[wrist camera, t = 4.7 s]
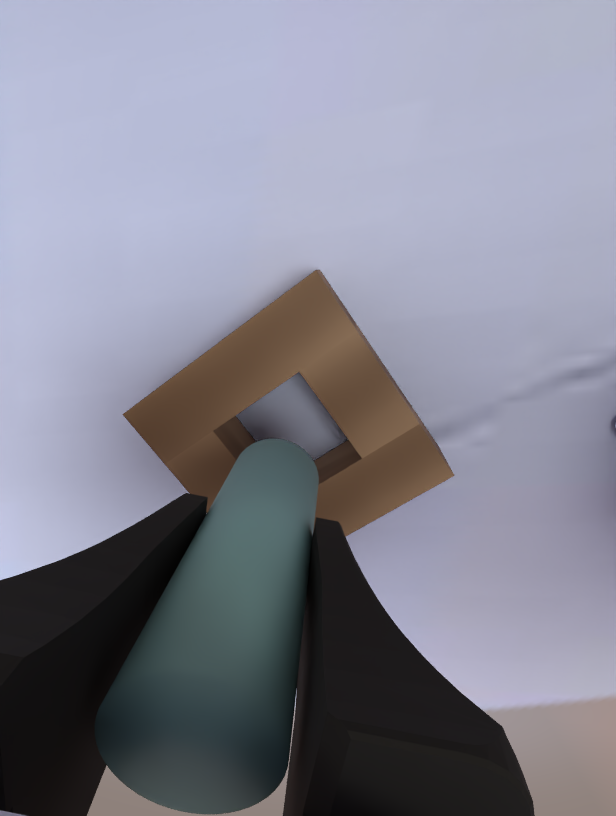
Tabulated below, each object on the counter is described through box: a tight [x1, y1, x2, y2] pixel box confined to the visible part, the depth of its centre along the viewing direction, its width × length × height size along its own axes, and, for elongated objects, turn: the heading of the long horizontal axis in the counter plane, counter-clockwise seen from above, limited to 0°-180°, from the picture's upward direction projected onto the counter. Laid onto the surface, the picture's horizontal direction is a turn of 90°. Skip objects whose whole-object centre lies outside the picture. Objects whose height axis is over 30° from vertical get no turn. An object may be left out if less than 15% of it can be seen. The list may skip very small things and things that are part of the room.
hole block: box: [123, 270, 454, 536], centre depth 20 cm, size 10×10×3 cm
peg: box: [94, 439, 319, 814], centre depth 11 cm, size 3×3×9 cm
